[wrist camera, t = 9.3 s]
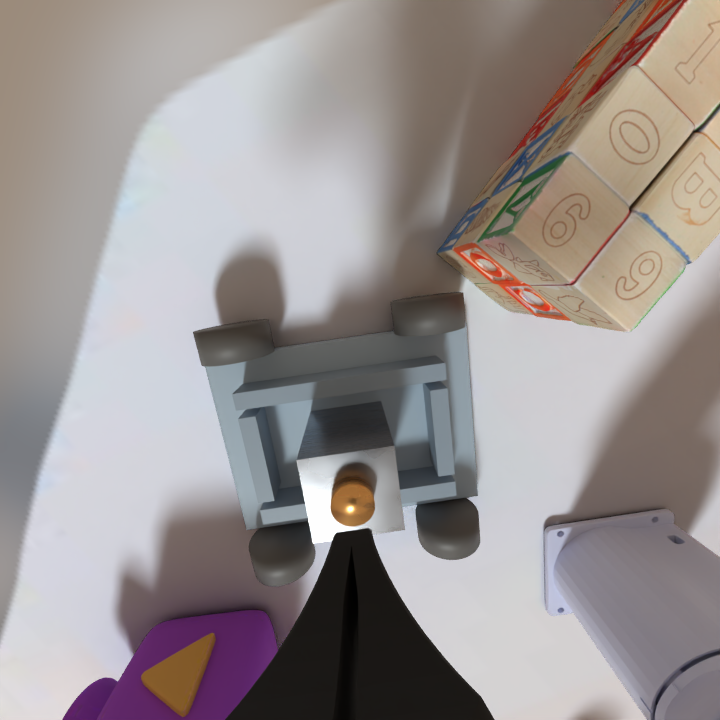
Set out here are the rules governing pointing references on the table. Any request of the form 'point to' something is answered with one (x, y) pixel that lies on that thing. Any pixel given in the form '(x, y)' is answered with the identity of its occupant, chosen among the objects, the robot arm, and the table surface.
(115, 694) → the toy camera
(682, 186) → the stack of blocks
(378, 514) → the metal block with knob
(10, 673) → the table surface
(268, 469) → the chassis
